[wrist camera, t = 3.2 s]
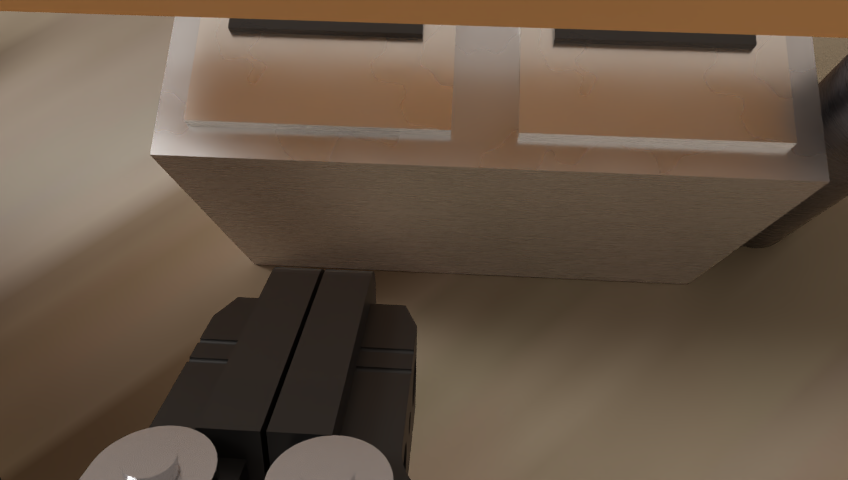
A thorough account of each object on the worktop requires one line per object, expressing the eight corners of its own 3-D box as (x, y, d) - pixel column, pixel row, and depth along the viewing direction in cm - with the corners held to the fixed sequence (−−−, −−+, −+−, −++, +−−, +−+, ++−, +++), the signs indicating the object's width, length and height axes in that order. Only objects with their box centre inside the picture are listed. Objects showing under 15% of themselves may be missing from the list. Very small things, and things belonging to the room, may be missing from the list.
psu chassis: (254, 264, 27) (102, 105, 15) (273, 115, 29) (152, -133, 17) (800, 289, 26) (1104, 141, 14) (783, 134, 28) (1041, -113, 16)
